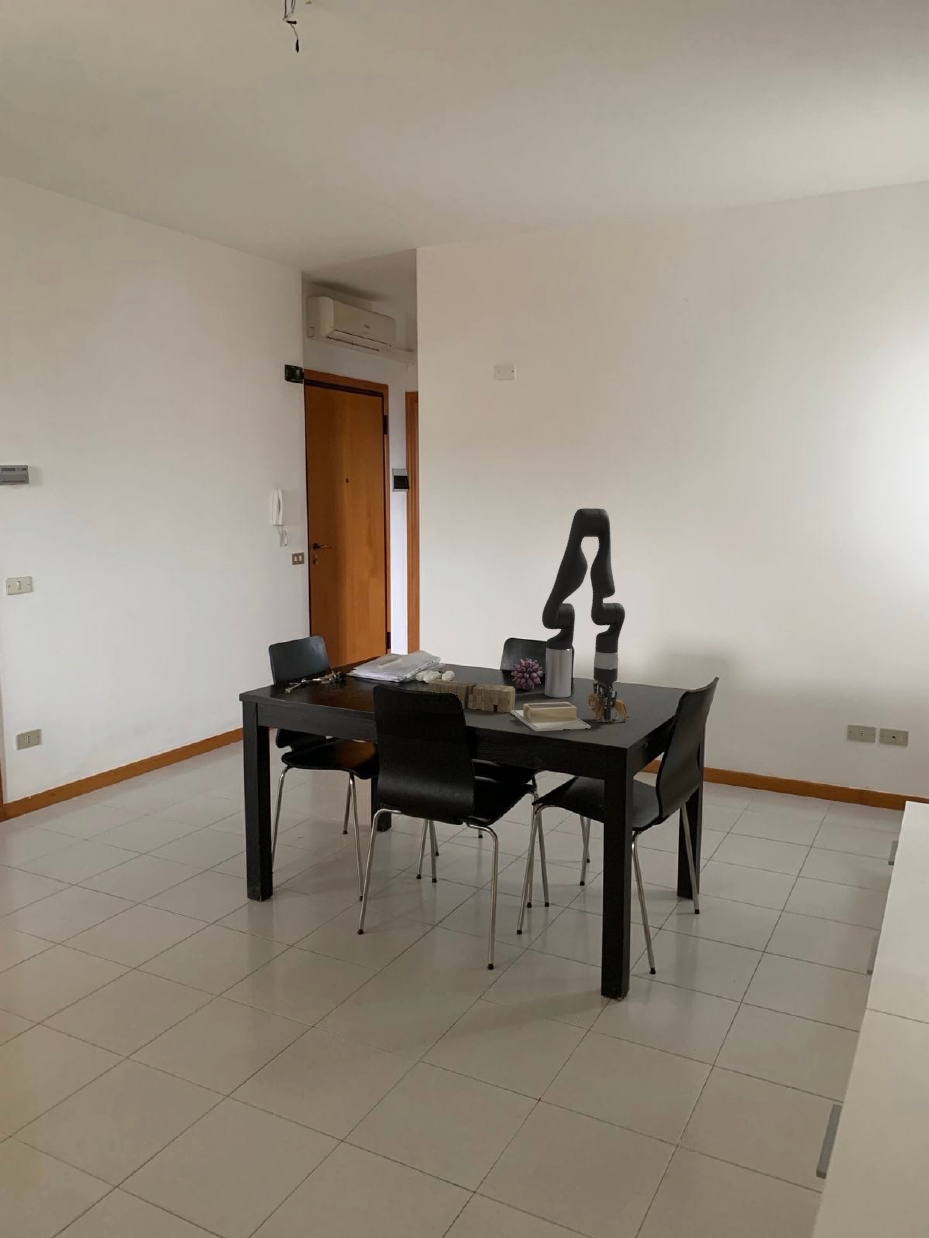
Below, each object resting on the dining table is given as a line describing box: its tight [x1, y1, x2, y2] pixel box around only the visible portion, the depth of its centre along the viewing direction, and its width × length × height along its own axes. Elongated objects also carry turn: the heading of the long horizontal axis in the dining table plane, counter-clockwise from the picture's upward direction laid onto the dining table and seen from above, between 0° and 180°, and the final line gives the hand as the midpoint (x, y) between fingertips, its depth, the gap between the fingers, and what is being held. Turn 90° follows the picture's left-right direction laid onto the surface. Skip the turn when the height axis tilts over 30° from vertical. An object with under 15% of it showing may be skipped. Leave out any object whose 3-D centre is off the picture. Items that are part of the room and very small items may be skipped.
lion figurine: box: [586, 692, 631, 723], centre depth 290 cm, size 15×5×9 cm, turn 102°
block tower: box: [428, 678, 516, 713], centre depth 307 cm, size 8×8×29 cm
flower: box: [511, 657, 544, 691], centre depth 335 cm, size 12×12×12 cm
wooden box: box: [522, 701, 578, 722], centre depth 289 cm, size 8×15×4 cm, turn 105°
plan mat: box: [510, 709, 591, 732], centre depth 290 cm, size 24×18×1 cm
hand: (603, 717), depth 291 cm, fingers closed on lion figurine, 4 cm apart
